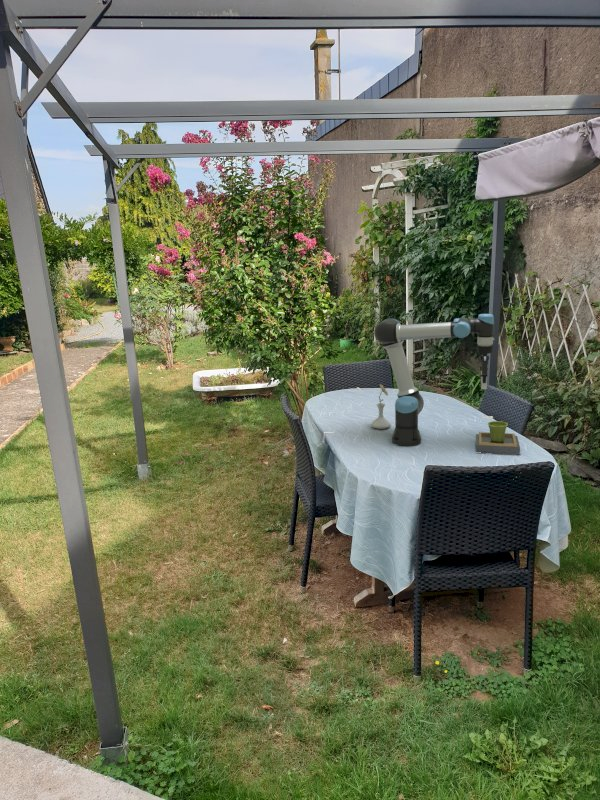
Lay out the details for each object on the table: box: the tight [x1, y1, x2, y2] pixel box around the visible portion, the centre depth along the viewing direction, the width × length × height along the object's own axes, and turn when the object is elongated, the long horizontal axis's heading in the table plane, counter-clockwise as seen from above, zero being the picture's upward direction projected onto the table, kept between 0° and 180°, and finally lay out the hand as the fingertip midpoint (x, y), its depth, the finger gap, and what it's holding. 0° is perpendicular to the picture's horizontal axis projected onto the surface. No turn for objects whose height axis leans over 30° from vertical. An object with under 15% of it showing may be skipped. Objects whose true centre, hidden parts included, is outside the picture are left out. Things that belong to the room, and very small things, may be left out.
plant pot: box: [487, 420, 508, 442], centre depth 283 cm, size 9×9×9 cm
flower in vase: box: [370, 384, 392, 430], centre depth 324 cm, size 13×11×25 cm
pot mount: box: [475, 431, 521, 456], centre depth 284 cm, size 20×18×5 cm
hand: (483, 386), depth 292 cm, fingers open, 13 cm apart
